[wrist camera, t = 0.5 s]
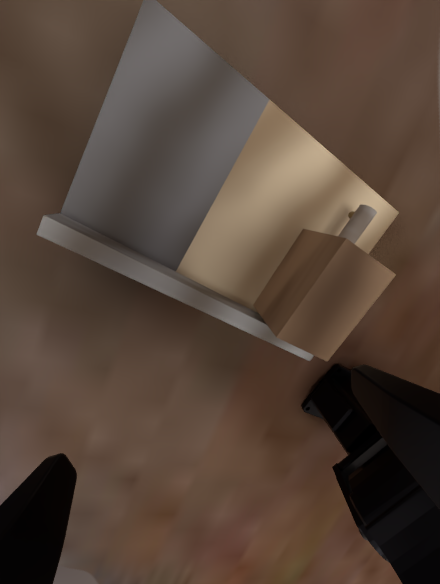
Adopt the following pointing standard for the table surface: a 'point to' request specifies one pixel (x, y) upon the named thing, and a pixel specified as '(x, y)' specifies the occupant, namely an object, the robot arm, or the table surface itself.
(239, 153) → the board
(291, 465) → the table surface
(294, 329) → the brown block with peg
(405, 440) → the robot arm
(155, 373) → the table surface
